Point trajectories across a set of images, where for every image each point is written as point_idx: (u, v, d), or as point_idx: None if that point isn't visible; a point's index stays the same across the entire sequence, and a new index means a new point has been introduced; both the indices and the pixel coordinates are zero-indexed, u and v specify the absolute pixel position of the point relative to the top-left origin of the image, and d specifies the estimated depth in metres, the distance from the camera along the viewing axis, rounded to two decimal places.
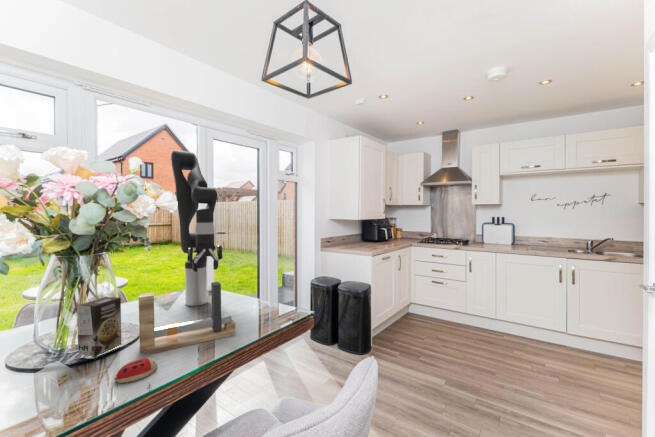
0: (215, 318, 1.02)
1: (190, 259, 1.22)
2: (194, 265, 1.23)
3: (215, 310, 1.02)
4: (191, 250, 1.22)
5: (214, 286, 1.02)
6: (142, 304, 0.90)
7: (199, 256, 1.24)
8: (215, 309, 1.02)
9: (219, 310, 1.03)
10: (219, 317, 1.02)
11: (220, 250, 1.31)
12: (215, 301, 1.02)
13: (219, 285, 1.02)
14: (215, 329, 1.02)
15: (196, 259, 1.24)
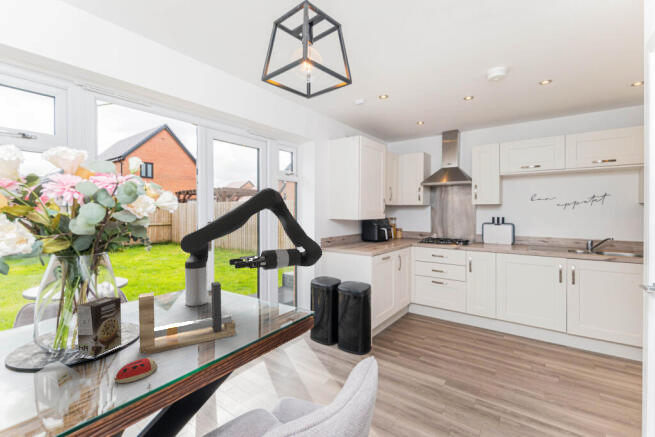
0: (215, 318, 1.02)
1: None
2: (243, 266, 1.04)
3: (215, 310, 1.02)
4: None
5: (214, 286, 1.02)
6: (142, 304, 0.90)
7: None
8: (215, 309, 1.02)
9: (219, 310, 1.03)
10: (219, 317, 1.02)
11: None
12: (215, 301, 1.02)
13: (219, 285, 1.02)
14: (215, 329, 1.02)
15: None
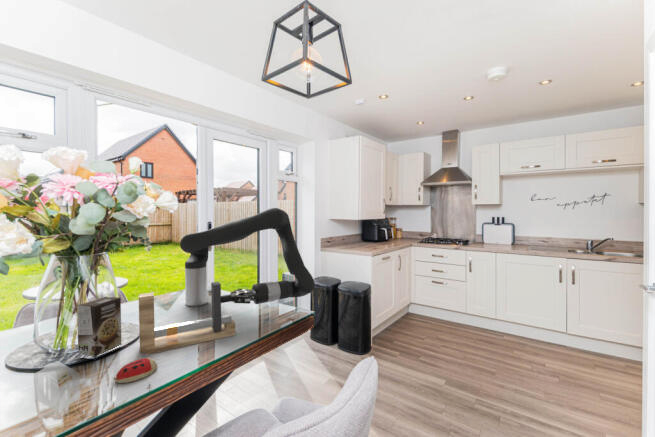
0: (215, 318, 1.02)
1: None
2: (228, 301, 1.05)
3: (215, 310, 1.02)
4: None
5: (214, 286, 1.02)
6: (142, 304, 0.90)
7: None
8: (215, 309, 1.02)
9: (219, 310, 1.03)
10: (219, 317, 1.02)
11: None
12: (215, 301, 1.02)
13: (219, 285, 1.02)
14: (215, 329, 1.02)
15: None
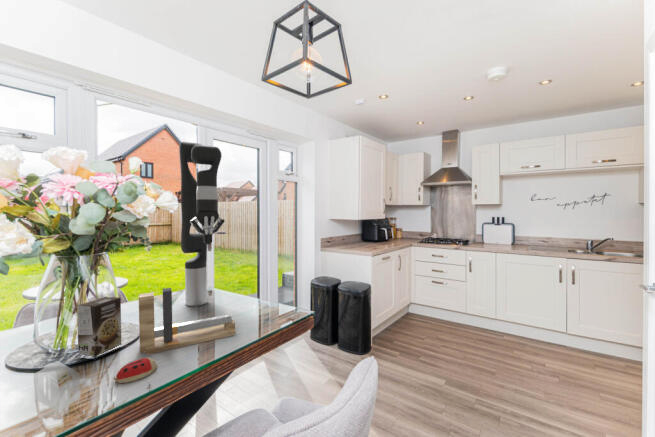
0: (165, 327, 0.94)
1: (201, 230, 1.09)
2: (205, 237, 1.10)
3: (165, 319, 0.94)
4: (194, 222, 1.07)
5: (164, 293, 0.94)
6: (142, 304, 0.90)
7: (206, 226, 1.10)
8: (165, 318, 0.94)
9: (170, 319, 0.95)
10: (170, 326, 0.94)
11: (220, 223, 1.14)
12: (165, 309, 0.94)
13: (170, 292, 0.94)
14: (165, 339, 0.94)
15: (205, 230, 1.10)
